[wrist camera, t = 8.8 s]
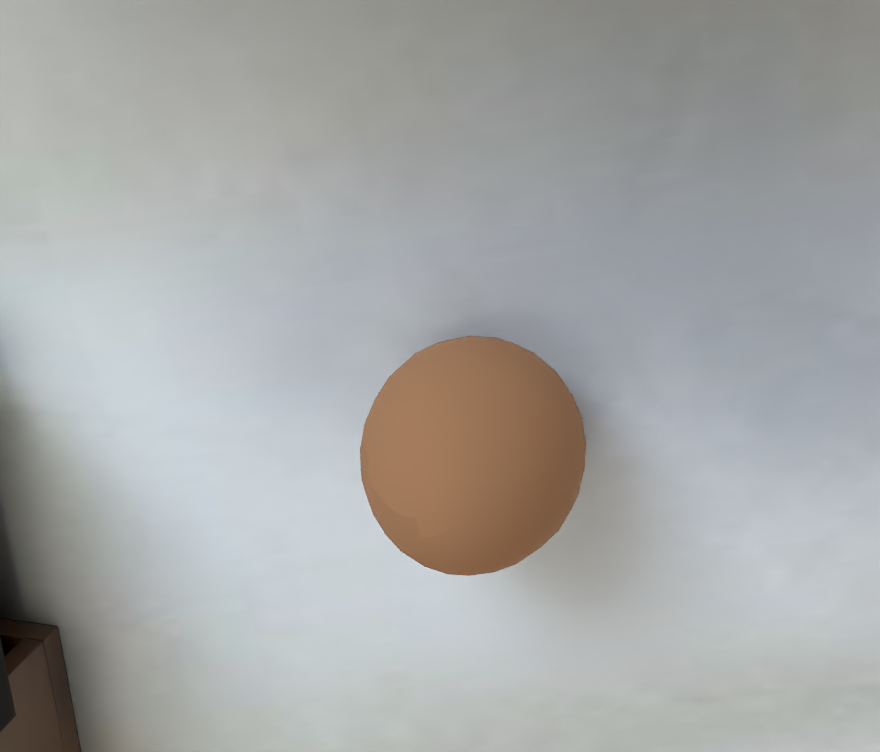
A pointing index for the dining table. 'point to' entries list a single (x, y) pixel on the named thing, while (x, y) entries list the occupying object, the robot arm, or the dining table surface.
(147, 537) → the dining table surface
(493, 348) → the egg
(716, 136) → the dining table surface
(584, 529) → the dining table surface
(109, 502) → the dining table surface
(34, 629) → the cabinet
